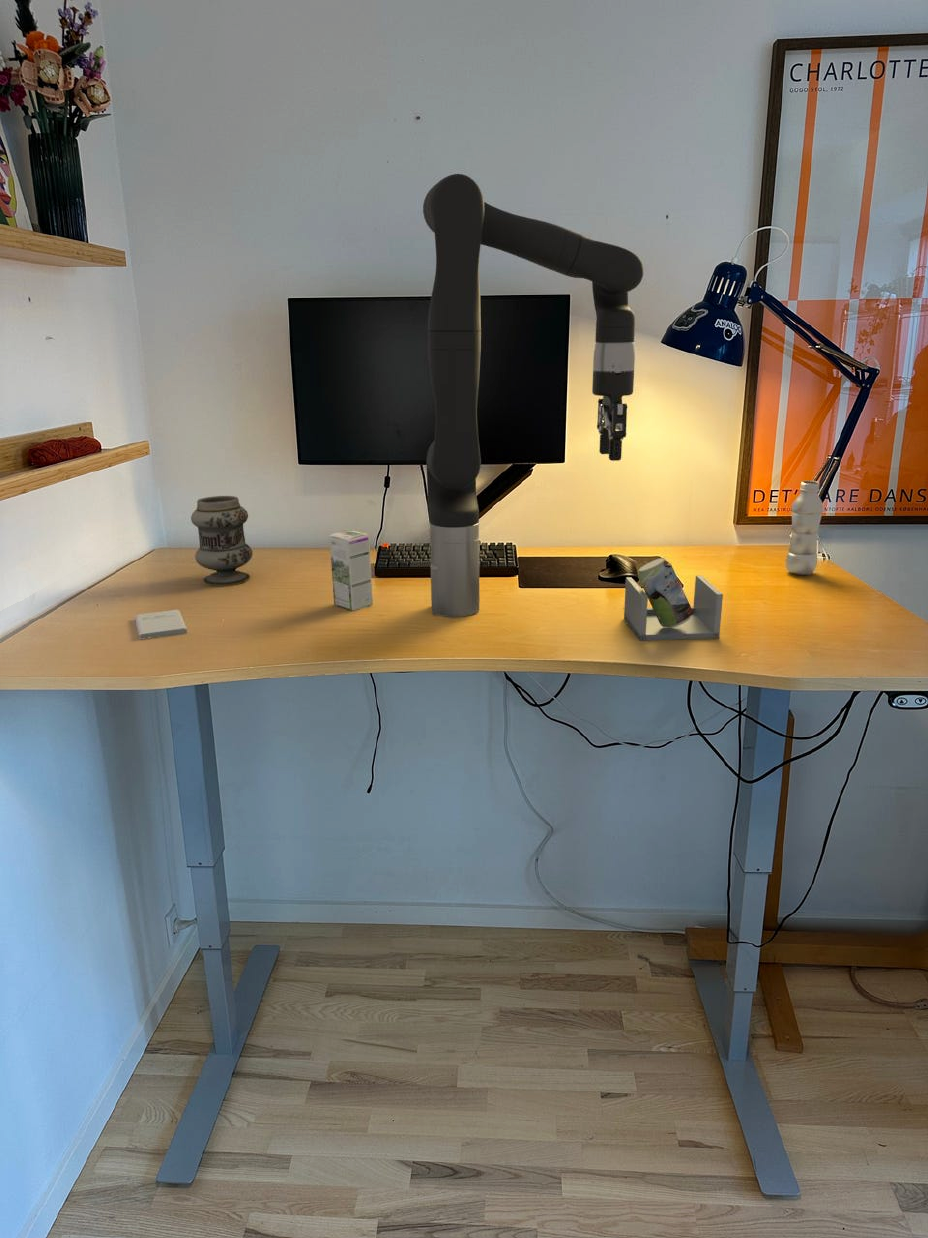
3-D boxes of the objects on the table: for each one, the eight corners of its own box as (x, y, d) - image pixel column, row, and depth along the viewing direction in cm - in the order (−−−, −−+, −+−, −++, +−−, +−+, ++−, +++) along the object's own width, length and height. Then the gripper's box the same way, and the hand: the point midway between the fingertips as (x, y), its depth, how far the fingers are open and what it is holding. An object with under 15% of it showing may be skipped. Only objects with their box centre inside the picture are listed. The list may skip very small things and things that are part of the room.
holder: (639, 640, 151) (642, 596, 149) (623, 618, 162) (625, 577, 160) (719, 638, 152) (723, 594, 149) (698, 616, 163) (701, 575, 161)
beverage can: (695, 625, 150) (677, 560, 147) (653, 635, 152) (634, 571, 149) (695, 613, 155) (677, 550, 152) (654, 623, 158) (636, 561, 155)
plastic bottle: (818, 572, 191) (829, 481, 185) (812, 579, 186) (823, 485, 179) (788, 568, 195) (798, 478, 188) (780, 575, 189) (790, 483, 183)
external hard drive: (140, 642, 155) (135, 622, 166) (187, 636, 158) (180, 616, 169) (138, 634, 154) (134, 614, 165) (186, 627, 157) (179, 608, 168)
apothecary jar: (224, 570, 199) (215, 491, 193) (266, 576, 193) (259, 495, 188) (185, 584, 188) (176, 501, 183) (229, 590, 183) (220, 505, 177)
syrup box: (374, 604, 173) (370, 532, 168) (351, 611, 168) (347, 538, 164) (355, 599, 176) (351, 528, 172) (332, 605, 172) (328, 533, 168)
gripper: (586, 367, 167) (583, 452, 172) (601, 370, 154) (597, 463, 159) (624, 366, 168) (621, 451, 173) (643, 369, 154) (638, 462, 159)
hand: (609, 457), depth 166 cm, fingers open, 8 cm apart
